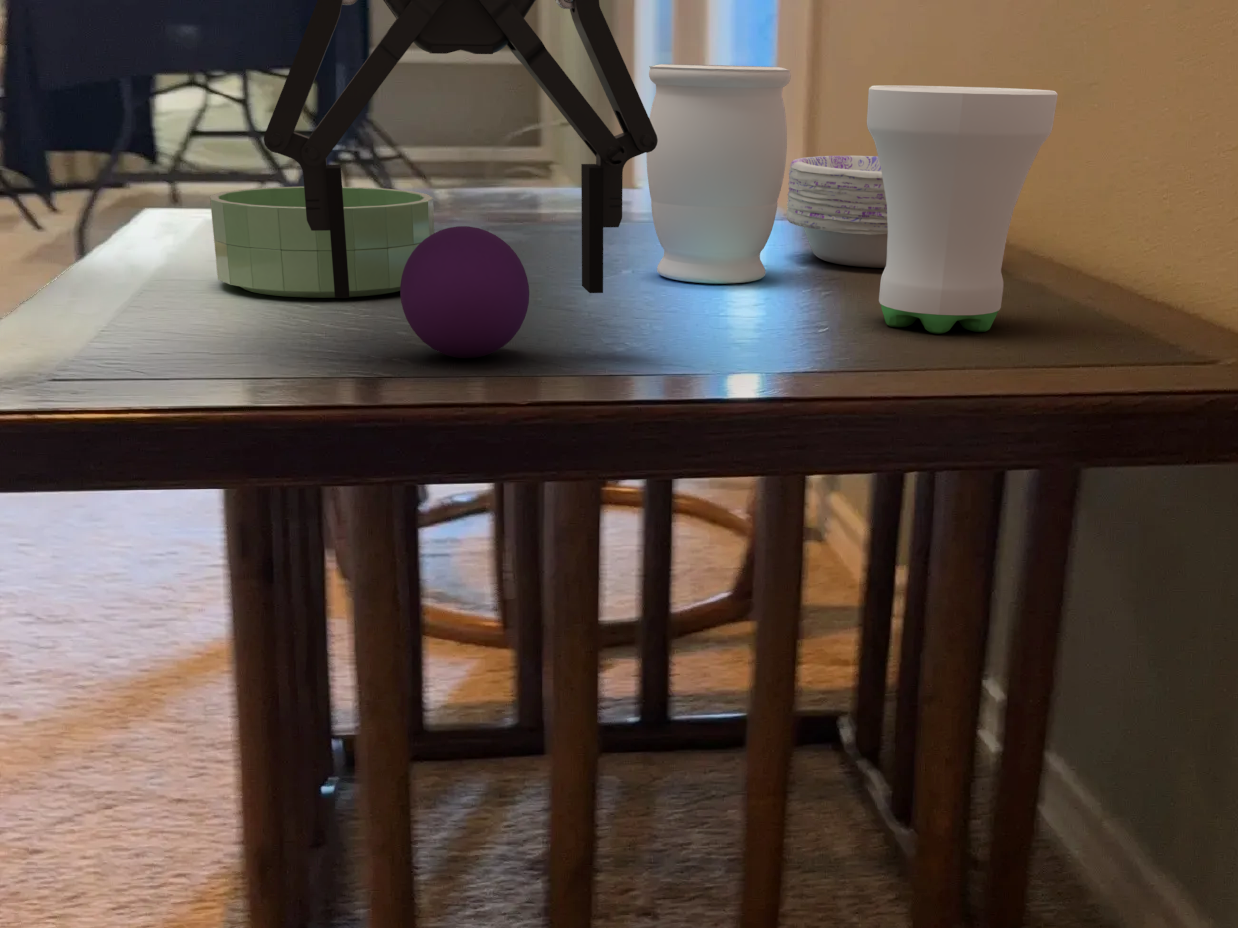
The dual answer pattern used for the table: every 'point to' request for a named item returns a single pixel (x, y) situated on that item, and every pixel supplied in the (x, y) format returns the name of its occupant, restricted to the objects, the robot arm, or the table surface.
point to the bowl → (316, 240)
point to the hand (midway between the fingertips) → (469, 292)
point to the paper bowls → (840, 208)
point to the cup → (951, 195)
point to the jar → (716, 168)
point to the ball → (464, 292)
